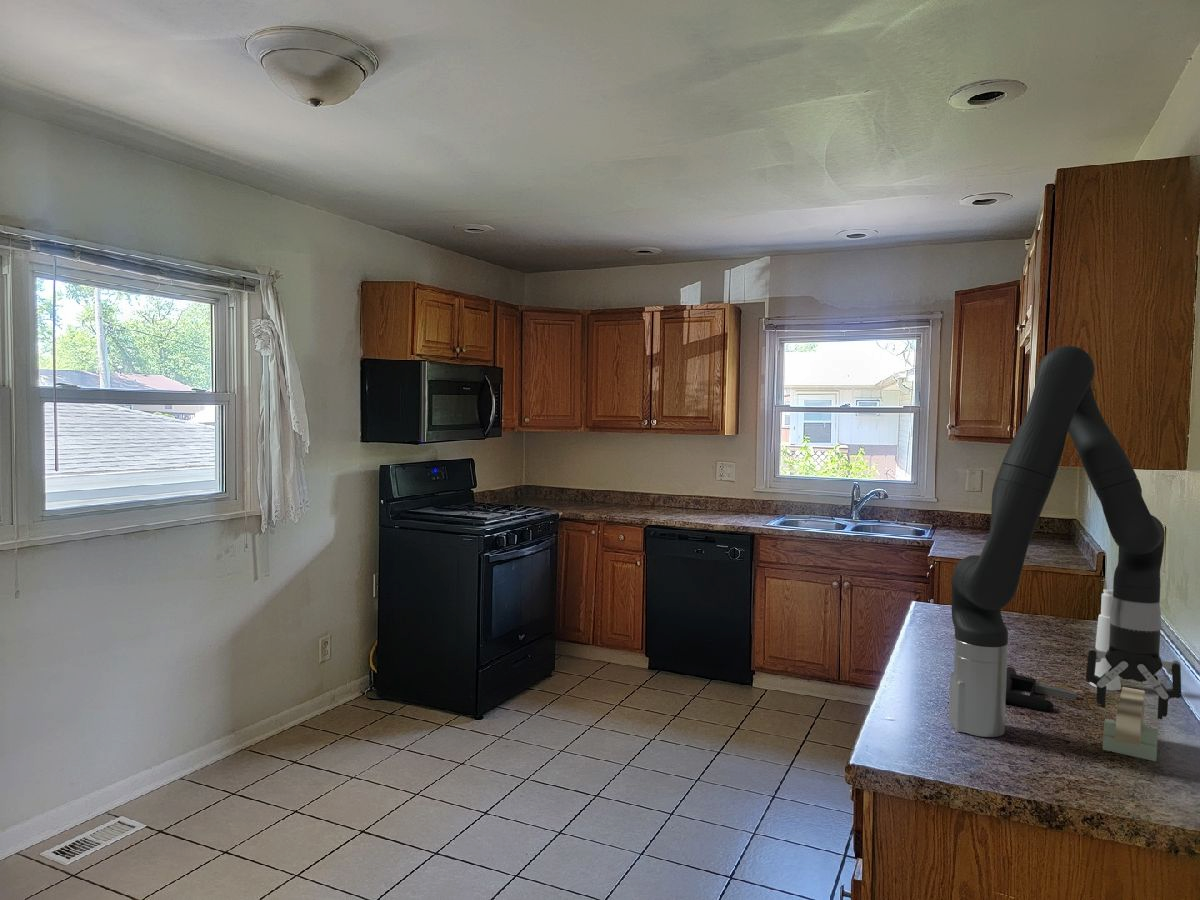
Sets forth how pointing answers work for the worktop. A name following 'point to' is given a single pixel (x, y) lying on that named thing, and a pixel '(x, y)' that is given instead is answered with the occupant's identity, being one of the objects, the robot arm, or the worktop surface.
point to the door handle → (1032, 692)
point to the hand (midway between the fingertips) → (1131, 712)
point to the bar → (1130, 716)
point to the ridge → (1143, 750)
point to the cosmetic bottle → (1105, 640)
